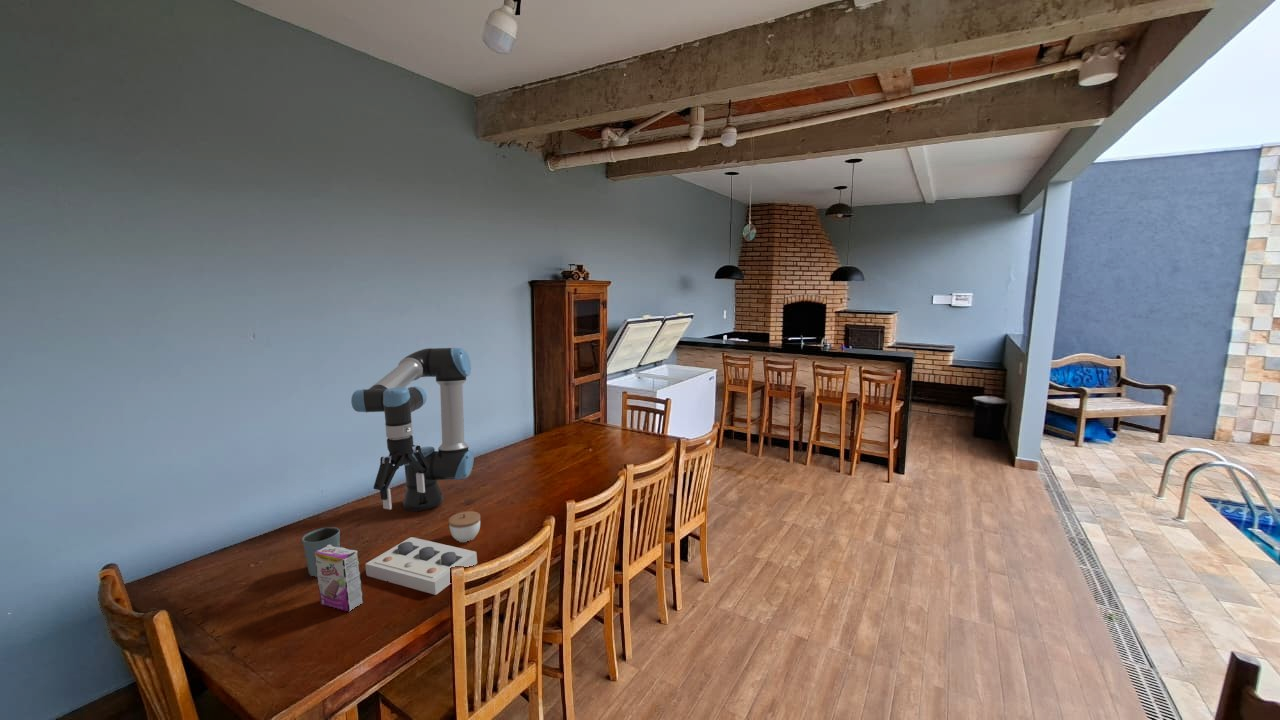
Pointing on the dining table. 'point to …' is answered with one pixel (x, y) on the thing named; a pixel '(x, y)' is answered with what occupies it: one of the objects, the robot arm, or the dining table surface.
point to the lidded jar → (464, 525)
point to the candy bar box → (339, 577)
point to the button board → (418, 566)
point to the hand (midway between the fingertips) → (405, 500)
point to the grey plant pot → (319, 544)
